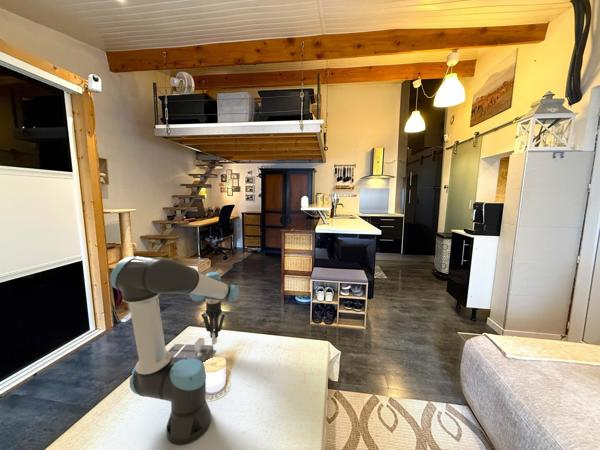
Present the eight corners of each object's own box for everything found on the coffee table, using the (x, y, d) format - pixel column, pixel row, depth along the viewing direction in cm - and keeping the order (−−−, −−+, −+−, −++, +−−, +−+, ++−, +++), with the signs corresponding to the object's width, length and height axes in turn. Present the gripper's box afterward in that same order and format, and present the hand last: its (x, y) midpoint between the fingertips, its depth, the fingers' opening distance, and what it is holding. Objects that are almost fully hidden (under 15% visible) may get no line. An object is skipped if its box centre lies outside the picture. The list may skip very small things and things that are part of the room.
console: (204, 363, 126) (203, 355, 125) (162, 361, 127) (162, 354, 126) (213, 349, 138) (213, 342, 137) (175, 348, 139) (175, 341, 138)
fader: (200, 353, 129) (200, 343, 129) (194, 353, 129) (194, 342, 129) (204, 348, 134) (204, 337, 134) (199, 348, 134) (198, 337, 134)
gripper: (227, 298, 133) (228, 339, 135) (204, 298, 133) (205, 338, 135) (223, 304, 125) (223, 347, 127) (198, 303, 126) (199, 346, 128)
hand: (214, 343), depth 131 cm, fingers closed
